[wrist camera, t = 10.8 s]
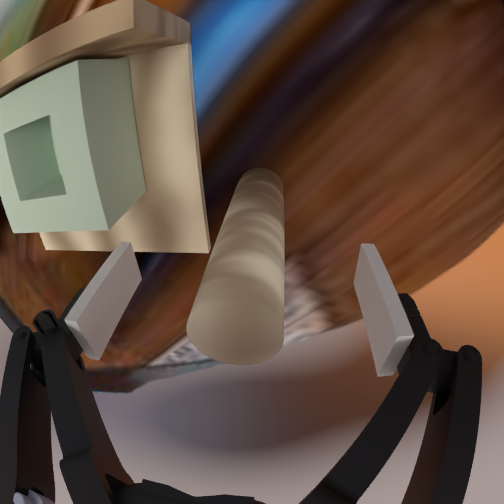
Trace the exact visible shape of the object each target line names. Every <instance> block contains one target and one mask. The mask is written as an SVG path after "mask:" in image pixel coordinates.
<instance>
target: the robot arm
mask: <svg viewBox="0 0 504 504" xmlns="http://www.w3.org/2000/svg"><path fill="white" fill-rule="evenodd" d="M502 1H503V2H504V0H502ZM141 280H142V277H141V274H140V271H139V268H138V264H137V261H136V258H135V254H134V251H133V247H132V244H131V242H120V243H119V245H118V246H117V247H116V248H115V250H114V251H113V252H112V253H111V255H110V256H109V257H108V259H107V260H106V261H105V263H104V264H103V265H102V267H101V268H100V269H99V271H98V272H97V273H96V275H95V276H94V277H93V279H92V280H91V281H90V283H89V284H88V286H84V287H83V288H81V289H80V290H79V291H78V292H77V293H76V294H75V296H74V297H73V300H71V302H70V303H69V305H68V306H67V307H66V309H65V310H64V312H63V313H62V315H61V316H60V318H59V319H57V318H56V316H55V314H54V312H53V311H52V310H43V311H41V312H40V313H38V314H37V315H36V316H35V318H34V320H33V325H34V327H35V328H36V330H37V331H38V332H33V333H32V331H31V330H30V328H29V327H28V326H22V327H20V328H18V329H17V330H16V331H15V332H14V334H13V336H12V340H11V344H10V348H9V352H8V356H7V361H6V366H5V371H4V377H3V382H2V388H1V395H0V504H55V482H54V472H53V464H52V447H51V412H52V416H53V421H54V424H55V429H56V433H57V436H58V440H59V443H60V447H61V450H62V453H63V459H62V460H60V469H61V472H62V475H63V478H64V481H65V483H66V486H67V489H68V491H69V494H70V496H71V499H72V501H73V504H265V503H263V502H260V501H256V500H255V499H254V497H246V496H234V495H216V496H202V497H194V496H191V495H189V494H186V493H184V492H181V491H180V490H177V489H175V488H173V487H171V486H169V485H165V484H161V483H156V482H153V481H149V480H145V479H143V481H142V483H134V482H133V480H132V479H131V477H130V476H129V475H128V474H127V473H126V471H125V470H124V468H123V467H122V465H121V463H120V461H119V458H118V456H117V454H116V452H115V450H114V447H113V445H112V443H111V440H110V438H109V436H108V433H107V431H106V428H105V426H104V423H103V421H102V419H101V415H100V413H99V410H98V407H97V404H96V401H95V398H94V395H93V392H92V389H91V386H90V383H89V380H88V376H87V373H86V370H85V366H84V362H83V359H82V357H81V356H80V355H81V353H82V351H84V353H85V354H86V356H87V357H88V358H91V359H96V360H100V358H101V356H102V354H103V352H104V350H105V347H106V345H107V343H108V341H109V339H110V337H111V335H112V334H113V332H114V330H115V328H116V326H117V324H118V322H119V320H120V318H121V316H122V314H123V312H124V311H125V309H126V307H127V305H128V303H129V301H130V299H131V298H132V296H133V294H134V292H135V290H136V289H137V287H138V285H139V283H140V281H141ZM353 283H354V287H355V290H356V294H357V297H358V301H359V304H360V308H361V311H362V315H363V318H364V322H365V326H366V330H367V334H368V338H369V342H370V346H371V350H372V354H373V358H374V362H375V367H376V371H377V376H388V375H393V374H394V372H395V371H396V369H397V368H398V372H399V376H398V378H397V380H396V381H395V383H394V385H393V386H392V388H391V389H390V391H389V393H388V394H387V396H386V397H385V399H384V400H383V402H382V403H381V405H380V407H379V408H378V409H377V411H376V412H375V414H374V415H373V417H372V418H371V420H370V421H369V422H368V424H367V425H366V427H365V428H364V429H363V431H362V432H361V433H360V435H359V436H358V437H357V439H356V440H355V441H354V442H353V444H352V445H351V446H350V448H349V449H348V450H347V451H346V453H345V454H344V455H343V456H342V457H341V459H340V460H339V461H338V462H337V463H336V465H335V466H334V467H333V468H332V469H331V470H330V472H329V473H328V474H327V475H326V476H325V477H324V478H323V479H322V480H321V481H320V483H319V484H318V485H317V486H316V487H315V488H314V489H313V490H312V491H311V492H310V493H309V494H308V495H307V496H306V497H305V498H304V499H303V500H302V501H301V502H300V503H299V504H356V503H357V501H358V499H359V498H360V497H361V496H362V494H363V493H364V492H365V491H366V489H367V488H368V487H369V486H370V484H371V483H372V481H373V480H374V479H375V477H376V476H377V475H378V473H379V472H380V470H381V469H382V468H383V466H384V465H385V463H386V462H387V460H388V459H389V457H390V456H391V454H392V453H393V451H394V450H395V448H396V447H397V445H398V443H399V442H400V440H401V438H402V437H403V435H404V433H405V432H406V430H407V428H408V427H409V425H410V423H411V421H412V419H413V418H414V416H415V414H416V412H417V410H418V408H419V406H420V404H421V402H422V400H423V399H424V396H425V394H426V392H432V393H433V396H432V402H431V407H430V412H429V416H428V421H427V425H426V429H425V433H424V437H423V441H422V445H421V448H420V452H419V455H418V458H417V462H416V465H415V468H414V471H413V474H412V477H411V480H410V483H409V486H408V488H407V491H406V493H405V496H404V499H403V501H402V503H401V504H462V503H463V500H464V496H465V493H466V489H467V485H468V481H469V477H470V473H471V468H472V463H473V458H474V453H475V447H476V441H477V433H478V425H479V416H480V405H481V389H482V388H481V387H482V357H481V354H480V352H479V351H478V350H477V349H476V348H475V347H473V346H470V345H464V346H462V347H461V348H460V349H459V351H458V352H455V351H449V350H444V349H442V347H441V346H440V344H439V343H438V342H437V341H435V340H434V339H431V338H430V336H429V333H428V331H427V329H426V326H425V324H424V322H423V319H422V317H421V316H420V313H419V310H417V306H416V304H415V302H414V300H413V299H412V298H411V297H410V296H409V295H408V294H407V293H403V294H397V292H396V290H395V287H394V285H393V283H392V281H391V278H390V276H389V274H388V272H387V270H386V268H385V265H384V263H383V261H382V259H381V257H380V255H379V253H378V251H377V249H376V247H375V245H374V244H361V247H360V252H359V258H358V263H357V268H356V273H355V278H354V282H353ZM30 365H31V369H30Z"/></svg>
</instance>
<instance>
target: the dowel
mask: <svg viewBox="0 0 504 504" xmlns="http://www.w3.org/2000/svg"><path fill="white" fill-rule="evenodd" d="M186 330H187V335H188V337H189V339H190V341H191V343H192V344H193V345H194V346H195V347H196V348H197V349H198V350H199V351H200V352H201V353H203V354H204V355H206V356H208V357H210V358H212V359H214V360H217V361H220V362H223V363H227V364H234V365H251V364H257V363H261V362H264V361H266V360H268V359H270V358H272V357H273V356H274V355H276V354H277V353H278V352H279V351H280V349H281V347H282V345H283V341H284V187H283V183H282V180H281V179H280V177H279V176H278V175H277V174H276V173H275V172H273V171H272V170H270V169H267V168H253V169H250V170H248V171H247V172H245V173H244V174H243V175H242V176H241V178H240V179H239V182H238V184H237V187H236V189H235V192H234V194H233V197H232V200H231V202H230V205H229V207H228V210H227V213H226V215H225V218H224V221H223V223H222V226H221V229H220V231H219V234H218V237H217V239H216V242H215V245H214V248H213V250H212V253H211V256H210V259H209V261H208V264H207V267H206V270H205V273H204V275H203V278H202V281H201V284H200V287H199V290H198V292H197V295H196V298H195V301H194V304H193V307H192V310H191V313H190V316H189V319H188V322H187V326H186Z"/></svg>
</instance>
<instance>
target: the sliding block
mask: <svg viewBox="0 0 504 504" xmlns="http://www.w3.org/2000/svg"><path fill="white" fill-rule="evenodd" d="M146 192H147V191H146V185H145V180H144V174H143V169H142V163H141V157H140V151H139V144H138V137H137V130H136V123H135V115H134V107H133V98H132V89H131V78H130V66H129V60H128V59H89V60H76V61H74V62H71V63H69V64H67V65H64V66H62V67H60V68H57V69H55V70H53V71H51V72H49V73H46V74H44V75H42V76H40V77H38V78H36V79H34V80H32V81H30V82H28V83H27V84H25V85H23V86H21V87H19V88H17V89H16V90H14V91H12V92H10V93H9V94H7V95H5V96H4V97H2V98H0V196H1V200H2V203H3V206H4V209H5V212H6V215H7V217H8V220H9V223H10V226H11V228H12V231H13V233H31V232H60V231H100V230H110V229H111V227H112V226H113V225H114V224H115V223H116V222H117V221H118V220H119V219H120V218H121V217H122V216H123V215H124V214H125V213H126V212H127V211H128V210H129V209H130V208H131V207H132V205H133V204H134V203H135V202H136V201H137V200H138V199H139V198H140V197H141V196H142V195H143V194H145V193H146Z"/></svg>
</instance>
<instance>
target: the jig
mask: <svg viewBox="0 0 504 504" xmlns="http://www.w3.org/2000/svg"><path fill="white" fill-rule="evenodd" d="M89 59H128V60H129V66H130V78H131V89H132V98H133V107H134V115H135V123H136V130H137V137H138V144H139V151H140V157H141V163H142V169H143V174H144V180H145V185H146V191H147V192H146V193H145V194H143V195H142V196H141V197H140V198H139V199H138V200H137V201H136V202H135V203H134V204H133V205H132V207H131V208H130V209H129V210H128V211H127V212H126V213H125V214H124V215H123V216H122V217H121V218H120V219H119V220H118V221H117V222H116V223H115V224H114V225H113V226H112V227H111V229H110V230H100V231H60V232H39V233H40V236H41V238H42V241H43V244H44V246H45V249H46V250H78V251H114V250H115V248H116V247H117V246H118V245H119V243H120V242H131V244H132V247H133V251H134V252H175V253H209V251H210V249H211V244H210V237H209V229H208V221H207V213H206V205H205V196H204V187H203V178H202V169H201V160H200V150H199V139H198V129H197V117H196V106H195V93H194V79H193V64H192V47H191V27H190V23H189V22H187V21H186V20H184V19H182V18H180V17H178V16H176V15H174V14H172V13H170V12H168V11H166V10H164V9H162V8H160V7H158V6H156V5H154V4H152V3H150V2H148V1H145V0H117V1H115V2H112V3H109V4H106V5H104V6H101V7H99V8H96V9H94V10H91V11H89V12H87V13H84V14H82V15H80V16H78V17H76V18H73V19H71V20H69V21H67V22H65V23H63V24H61V25H59V26H57V27H55V28H53V29H52V30H50V31H48V32H46V33H44V34H43V35H41V36H39V37H37V38H36V39H34V40H32V41H31V42H29V43H27V44H26V45H24V46H23V47H21V48H19V49H18V50H16V51H15V52H13V53H12V54H10V55H9V56H7V57H6V58H5V59H3V60H2V61H0V98H2V97H4V96H5V95H7V94H9V93H10V92H12V91H14V90H16V89H17V88H19V87H21V86H23V85H25V84H27V83H28V82H30V81H32V80H34V79H36V78H38V77H40V76H42V75H44V74H46V73H49V72H51V71H53V70H55V69H57V68H60V67H62V66H64V65H67V64H69V63H71V62H74V61H76V60H89Z"/></svg>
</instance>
